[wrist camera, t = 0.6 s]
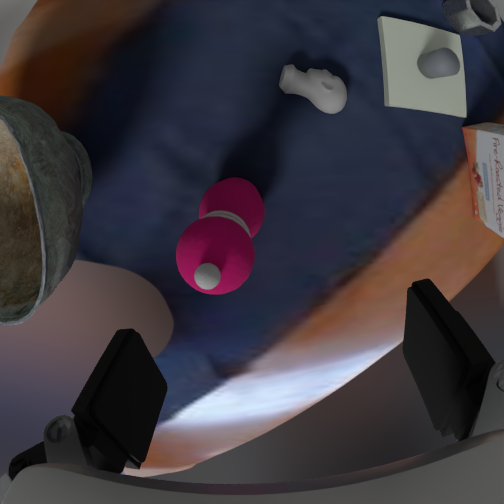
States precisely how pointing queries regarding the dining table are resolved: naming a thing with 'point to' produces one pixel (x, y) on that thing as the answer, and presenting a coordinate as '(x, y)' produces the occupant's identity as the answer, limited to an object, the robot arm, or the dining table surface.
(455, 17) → the sleeve
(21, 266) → the decorative bowl
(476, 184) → the cracker box
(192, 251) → the pepper mill
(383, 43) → the square plate with knob
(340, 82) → the pale two-lobed sculpture
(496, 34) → the dining table surface
